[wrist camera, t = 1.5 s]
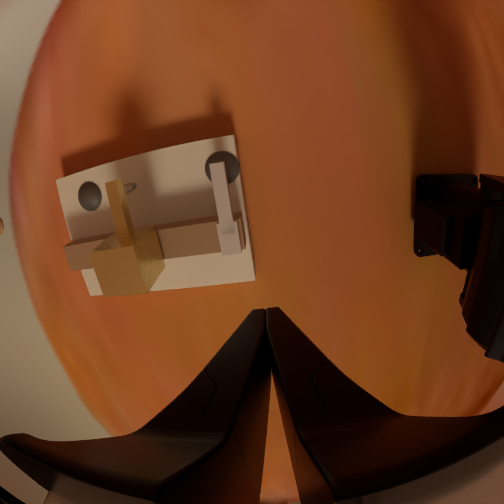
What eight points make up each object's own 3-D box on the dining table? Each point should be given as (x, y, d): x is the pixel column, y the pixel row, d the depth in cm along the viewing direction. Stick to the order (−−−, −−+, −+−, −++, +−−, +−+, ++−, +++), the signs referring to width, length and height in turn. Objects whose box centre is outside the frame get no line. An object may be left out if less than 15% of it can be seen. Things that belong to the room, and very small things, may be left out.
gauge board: (236, 135, 18) (231, 133, 15) (256, 272, 22) (256, 295, 18) (64, 177, 19) (39, 185, 16) (96, 289, 23) (78, 308, 19)
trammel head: (151, 169, 17) (117, 181, 13) (171, 257, 20) (147, 293, 15) (113, 178, 18) (72, 193, 13) (134, 262, 20) (103, 296, 15)
